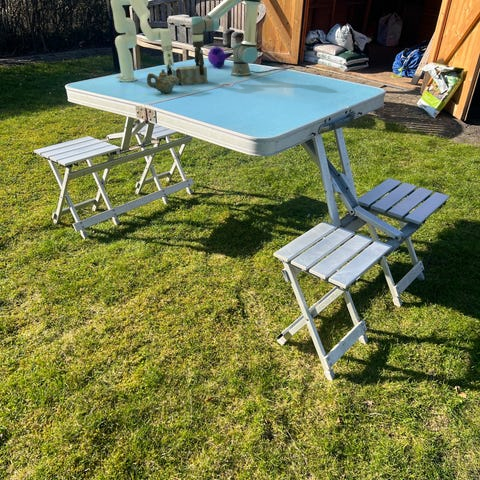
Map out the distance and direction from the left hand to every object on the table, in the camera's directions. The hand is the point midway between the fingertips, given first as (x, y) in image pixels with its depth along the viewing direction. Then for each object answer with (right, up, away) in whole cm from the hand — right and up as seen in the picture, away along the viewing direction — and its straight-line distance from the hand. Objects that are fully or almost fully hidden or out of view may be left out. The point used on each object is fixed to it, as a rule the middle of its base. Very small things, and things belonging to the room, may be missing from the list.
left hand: (169, 75), depth 323 cm
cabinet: (+16, -2, +8) cm, 18 cm away
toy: (+33, +31, +64) cm, 79 cm away
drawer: (+8, -3, +5) cm, 10 cm away
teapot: (-1, -19, -20) cm, 27 cm away
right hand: (+21, +4, +7) cm, 22 cm away
